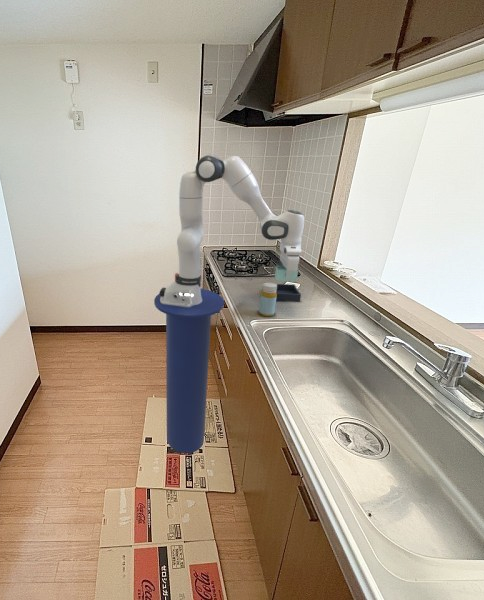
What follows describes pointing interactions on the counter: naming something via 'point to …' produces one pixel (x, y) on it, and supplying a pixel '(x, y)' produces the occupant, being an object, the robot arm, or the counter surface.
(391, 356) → the counter surface
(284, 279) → the case
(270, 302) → the bottle
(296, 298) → the tote
